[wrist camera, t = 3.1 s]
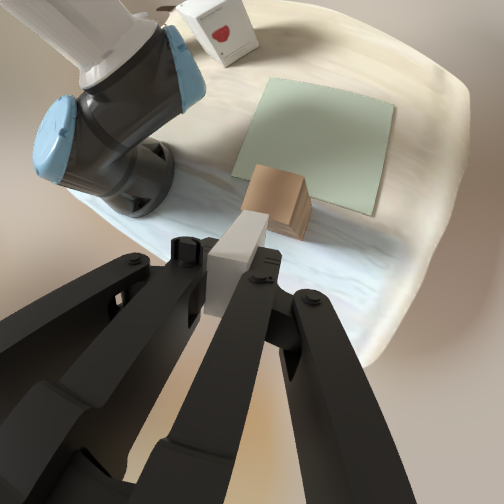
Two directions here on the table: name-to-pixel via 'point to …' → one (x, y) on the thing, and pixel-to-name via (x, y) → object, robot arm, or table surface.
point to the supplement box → (220, 28)
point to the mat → (320, 141)
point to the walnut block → (279, 200)
